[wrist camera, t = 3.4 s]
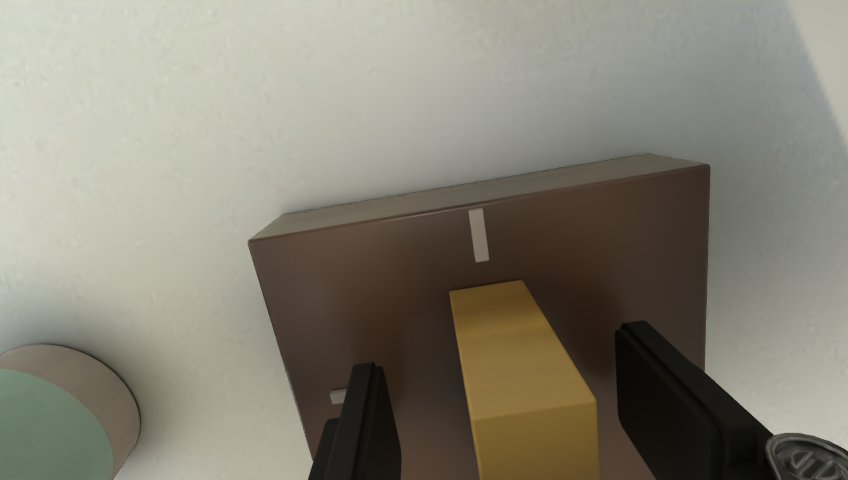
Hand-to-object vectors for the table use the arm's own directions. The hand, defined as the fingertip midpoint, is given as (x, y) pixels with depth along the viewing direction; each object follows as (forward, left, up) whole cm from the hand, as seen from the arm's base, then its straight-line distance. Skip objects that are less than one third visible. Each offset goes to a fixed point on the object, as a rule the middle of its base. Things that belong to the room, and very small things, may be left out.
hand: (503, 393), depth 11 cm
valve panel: (0, 0, -4) cm, 4 cm away
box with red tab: (0, 0, -1) cm, 1 cm away
